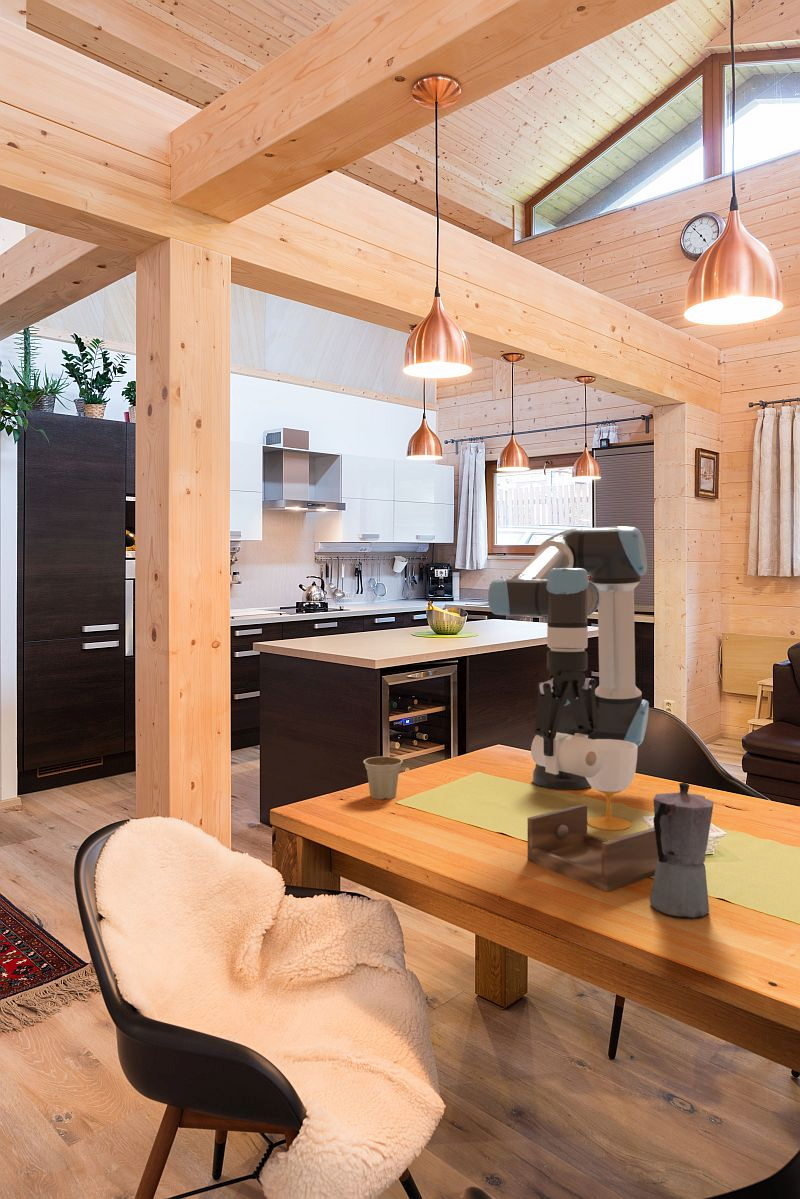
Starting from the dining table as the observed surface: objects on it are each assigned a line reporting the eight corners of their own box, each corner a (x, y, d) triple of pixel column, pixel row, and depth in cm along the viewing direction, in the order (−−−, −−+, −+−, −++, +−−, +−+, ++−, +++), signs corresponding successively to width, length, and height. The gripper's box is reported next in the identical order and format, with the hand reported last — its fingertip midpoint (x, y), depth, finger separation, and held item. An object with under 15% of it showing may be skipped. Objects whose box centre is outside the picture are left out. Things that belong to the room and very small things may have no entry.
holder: (527, 860, 152) (527, 817, 152) (582, 844, 161) (582, 804, 161) (607, 891, 137) (607, 844, 137) (663, 872, 146) (663, 827, 146)
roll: (527, 764, 158) (533, 727, 159) (553, 767, 162) (559, 732, 163) (575, 776, 148) (581, 737, 148) (601, 779, 152) (607, 741, 152)
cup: (624, 836, 166) (624, 752, 165) (571, 825, 173) (571, 745, 172) (645, 822, 175) (645, 743, 175) (594, 812, 182) (594, 736, 182)
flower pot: (399, 802, 192) (399, 766, 191) (360, 801, 193) (359, 764, 193) (405, 792, 201) (405, 757, 201) (367, 790, 202) (367, 755, 202)
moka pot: (727, 902, 132) (728, 780, 132) (689, 934, 121) (690, 800, 120) (670, 887, 139) (671, 770, 138) (629, 916, 127) (629, 789, 126)
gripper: (589, 646, 164) (588, 760, 164) (514, 650, 152) (514, 773, 153) (618, 648, 157) (617, 767, 158) (542, 653, 146) (542, 781, 146)
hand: (566, 770), depth 155 cm, fingers closed on roll, 7 cm apart
